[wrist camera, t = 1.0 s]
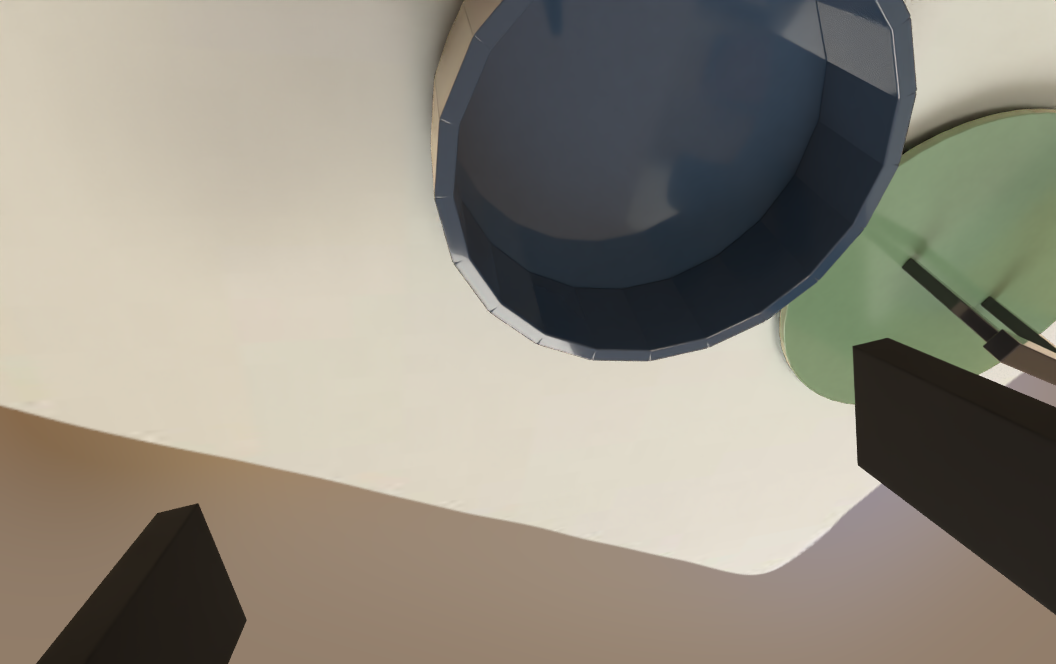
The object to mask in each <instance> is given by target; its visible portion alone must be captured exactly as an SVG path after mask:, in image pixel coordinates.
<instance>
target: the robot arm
mask: <svg viewBox="0 0 1056 664" xmlns="http://www.w3.org/2000/svg"><path fill="white" fill-rule="evenodd" d="M852 348H853V370H854V393H855V415H856V437H857V460H858V466H860V467H861V468H862V469H864V470H865V471H866V472H868V473H869V474H870V475H872V476H873V477H874V478H876V479H877V480H878V481H879V482H881V483H882V484H883V485H885V486H886V487H887V488H889V489H890V490H891V491H893V492H894V493H895V494H897V495H898V496H900V497H901V498H902V499H903V500H905V501H906V502H907V503H909V504H910V505H911V506H913V507H914V508H915V509H917V510H918V511H919V512H920V513H922V514H923V515H924V516H926V517H927V518H928V519H930V520H931V521H933V522H934V523H935V524H936V525H938V526H939V527H941V528H942V529H943V530H945V531H946V532H947V533H948V534H950V535H951V536H952V537H954V538H955V539H956V540H958V541H959V542H960V543H962V544H963V545H964V546H965V547H967V548H968V549H970V550H971V551H972V552H973V553H975V554H976V555H978V556H979V557H980V558H981V559H983V560H984V561H985V562H987V563H988V564H989V565H991V566H992V567H993V568H995V569H996V570H997V571H998V572H1000V573H1001V574H1002V575H1004V576H1005V577H1006V578H1008V579H1009V580H1011V581H1012V582H1013V583H1014V584H1016V585H1017V586H1018V587H1020V588H1021V589H1022V590H1024V591H1025V592H1026V593H1028V594H1029V595H1030V596H1032V597H1033V598H1034V599H1036V600H1037V601H1038V602H1040V603H1041V604H1042V605H1044V606H1045V607H1046V608H1047V609H1049V610H1050V611H1051V612H1053V613H1054V614H1055V615H1056V407H1054V406H1051V405H1049V404H1046V403H1044V402H1041V401H1039V400H1037V399H1034V398H1032V397H1030V396H1027V395H1025V394H1022V393H1020V392H1017V391H1015V390H1013V389H1010V388H1008V387H1006V386H1003V385H1001V384H998V383H996V382H994V381H991V380H989V379H986V378H984V377H982V376H979V375H977V374H974V373H972V372H970V371H967V370H965V369H962V368H960V367H958V366H955V365H953V364H950V363H948V362H946V361H943V360H941V359H938V358H936V357H933V356H931V355H929V354H926V353H924V352H921V351H919V350H917V349H914V348H912V347H909V346H907V345H905V344H902V343H900V342H897V341H895V340H893V339H890V338H884V339H880V340H876V341H871V342H867V343H863V344H859V345H855V346H852ZM245 623H246V617H245V615H244V612H243V610H242V607H241V605H240V603H239V600H238V598H237V595H236V593H235V591H234V588H233V586H232V583H231V581H230V579H229V576H228V574H227V571H226V569H225V566H224V564H223V562H222V559H221V557H220V554H219V552H218V550H217V547H216V545H215V542H214V540H213V538H212V535H211V533H210V530H209V528H208V526H207V523H206V521H205V518H204V516H203V514H202V511H201V509H200V507H199V504H194V505H189V506H185V507H181V508H177V509H173V510H169V511H164V512H161V513H157V514H156V516H155V517H154V518H153V519H152V520H151V522H150V523H149V524H148V525H147V527H146V528H145V529H144V530H143V532H142V533H141V534H140V535H139V537H138V538H137V539H136V540H135V542H134V543H133V544H132V545H131V546H130V548H129V549H128V550H127V552H126V553H125V554H124V555H123V557H122V558H121V559H120V560H119V561H118V563H117V564H116V565H115V566H114V568H113V569H112V570H111V571H110V573H109V574H108V575H107V576H106V578H105V579H104V580H103V581H102V583H101V584H100V585H99V586H98V588H97V589H96V590H95V591H94V592H93V594H92V595H91V596H90V598H89V599H88V600H87V601H86V603H85V604H84V605H83V606H82V607H81V609H80V610H79V611H78V612H77V614H76V615H75V616H74V617H73V619H72V620H71V621H70V622H69V624H68V625H67V626H66V627H65V629H64V630H63V631H62V632H61V634H60V635H59V636H58V637H57V638H56V640H55V641H54V642H53V643H52V645H51V646H50V647H49V649H48V650H47V651H46V652H45V654H44V655H43V656H42V657H41V658H40V660H39V661H38V662H37V663H36V664H228V662H229V660H230V658H231V655H232V653H233V651H234V648H235V646H236V644H237V641H238V639H239V637H240V635H241V632H242V630H243V628H244V625H245Z"/></svg>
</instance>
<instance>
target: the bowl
mask: <svg viewBox="0 0 1056 664" xmlns="http://www.w3.org/2000/svg"><path fill="white" fill-rule="evenodd" d="M916 91H917V87H916V75H915V62H914V50H913V37H912V25H911V18H910V13H909V11H908V9H907V7H906V5H905V4H904V2H903V0H464V1H463V3H462V5H461V7H460V10H459V12H458V14H457V17H456V19H455V21H454V23H453V25H452V27H451V30H450V32H449V34H448V36H447V39H446V42H445V46H444V49H443V52H442V55H441V58H440V61H439V64H438V67H437V69H436V72H435V77H434V89H433V104H432V125H431V143H430V144H431V158H432V173H433V187H434V200H435V203H436V206H437V210H438V213H439V217H440V220H441V224H442V227H443V231H444V234H445V238H446V241H447V245H448V248H449V252H450V255H451V259H452V262H453V263H454V265H455V266H456V268H457V269H458V270H459V272H460V273H461V275H462V276H463V277H464V279H465V280H466V281H467V283H468V284H469V285H470V287H471V288H472V289H473V291H474V292H475V294H476V295H477V296H478V298H479V299H480V300H481V302H482V303H483V304H484V306H485V307H486V309H487V310H488V311H490V313H491V314H493V315H494V316H496V317H497V318H499V319H500V320H502V321H503V322H505V323H506V324H508V325H509V326H510V327H512V328H513V329H515V330H516V331H518V332H519V333H521V334H522V335H524V336H525V337H527V338H528V339H530V340H531V341H533V342H534V343H536V344H538V345H541V346H544V347H548V348H551V349H554V350H558V351H561V352H565V353H568V354H571V355H575V356H578V357H581V358H585V359H588V360H598V361H653V360H658V359H662V358H667V357H671V356H675V355H680V354H684V353H689V352H693V351H698V350H702V349H707V348H708V347H712V346H714V345H716V344H718V343H720V342H722V341H724V340H727V339H729V338H731V337H733V336H735V335H737V334H739V333H742V332H744V331H746V330H748V329H750V328H752V327H754V326H756V325H759V324H761V323H763V322H764V321H765V320H768V319H769V318H771V317H772V316H773V315H775V314H776V313H777V312H779V311H780V310H781V309H783V308H784V307H785V306H787V305H788V304H789V303H791V302H792V301H793V300H795V299H796V298H797V297H799V296H800V295H801V294H803V293H804V292H805V291H807V290H808V289H809V288H811V287H812V286H813V285H815V284H816V283H817V282H818V280H820V279H821V278H822V277H823V276H824V275H825V274H826V273H827V271H828V270H829V269H830V268H831V267H832V266H833V265H834V263H835V262H836V261H837V260H838V259H839V258H840V257H841V255H842V254H843V253H844V252H845V251H846V250H847V249H848V247H849V246H850V245H851V244H852V243H853V242H854V241H855V239H856V238H857V237H858V236H859V235H860V234H861V233H862V231H863V230H864V228H866V226H867V224H868V222H869V221H870V219H871V217H872V215H873V213H874V211H875V209H876V208H877V206H878V204H879V202H880V200H881V198H882V196H883V195H884V193H885V191H886V189H887V187H888V185H889V183H890V182H891V180H892V178H893V176H894V174H895V172H896V170H897V169H898V167H899V163H900V161H901V156H902V152H903V148H904V144H905V140H906V135H907V131H908V127H909V123H910V119H911V114H912V110H913V106H914V102H915V98H916Z"/></svg>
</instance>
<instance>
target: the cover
mask: <svg viewBox="0 0 1056 664" xmlns="http://www.w3.org/2000/svg"><path fill="white" fill-rule="evenodd" d="M1055 321H1056V110H1051V109H1023V110H1014V111H1008V112H1003V113H997V114H992V115H989V116H985V117H982V118H979V119H976V120H972V121H969V122H966V123H963V124H961V125H959V126H956V127H954V128H952V129H949V130H947V131H944V132H942V133H940V134H938V135H936V136H934V137H932V138H930V139H928V140H926V141H925V142H923V143H921V144H919V145H917V146H915V147H913V148H912V149H910V150H909V151H907V152H906V153H904V154H903V155H902V156H901V161H900V163H899V167H898V169H897V170H896V172H895V174H894V176H893V178H892V180H891V182H890V183H889V185H888V187H887V189H886V191H885V193H884V195H883V196H882V198H881V200H880V202H879V204H878V206H877V208H876V209H875V211H874V213H873V215H872V217H871V219H870V221H869V222H868V224H867V226H866V228H864V230H863V231H862V233H861V234H860V235H859V236H858V237H857V238H856V239H855V241H854V242H853V243H852V244H851V245H850V246H849V247H848V249H847V250H846V251H845V252H844V253H843V254H842V255H841V257H840V258H839V259H838V260H837V261H836V262H835V263H834V265H833V266H832V267H831V268H830V269H829V270H828V271H827V273H826V274H825V275H824V276H823V277H822V278H821V279H820V280H818V282H817V283H816V284H815V285H813V286H812V287H811V288H809V289H808V290H807V291H805V292H804V293H803V294H801V295H800V296H799V297H797V298H796V299H795V300H793V301H792V302H791V303H789V304H788V305H787V306H785V307H784V308H783V309H781V313H780V322H779V335H780V341H781V347H782V351H783V353H784V356H785V358H786V361H787V363H788V364H789V366H790V367H791V369H792V370H793V372H794V373H795V375H796V376H797V377H798V379H799V380H800V381H801V382H802V383H803V384H804V385H806V386H807V387H808V388H809V389H811V390H812V391H814V392H815V393H817V394H819V395H821V396H823V397H826V398H828V399H830V400H834V401H838V402H842V403H846V404H855V393H854V370H853V348H852V346H855V345H859V344H863V343H867V342H871V341H876V340H880V339H884V338H890V339H893V340H895V341H897V342H900V343H902V344H905V345H907V346H909V347H912V348H914V349H917V350H919V351H921V352H924V353H926V354H929V355H931V356H933V357H936V358H938V359H941V360H943V361H946V362H948V363H950V364H953V365H955V366H958V367H960V368H962V369H965V370H967V371H970V372H972V373H974V374H977V375H979V374H981V373H983V372H985V371H987V370H988V369H990V368H992V367H994V366H995V365H997V364H999V363H1000V362H1001V363H1003V364H1006V365H1008V366H1011V367H1013V368H1015V369H1018V370H1020V371H1022V372H1025V373H1027V374H1030V375H1032V376H1034V377H1037V378H1039V379H1041V380H1044V381H1046V382H1049V383H1051V384H1053V385H1056V346H1055V345H1054V344H1053V343H1051V342H1050V341H1049V340H1048V339H1046V338H1045V337H1044V336H1043V335H1041V333H1042V332H1043V331H1045V330H1046V329H1047V328H1048V327H1049V326H1050V325H1051V324H1052V323H1054V322H1055Z"/></svg>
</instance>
